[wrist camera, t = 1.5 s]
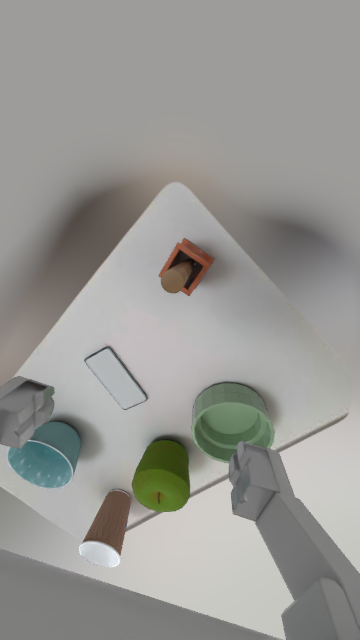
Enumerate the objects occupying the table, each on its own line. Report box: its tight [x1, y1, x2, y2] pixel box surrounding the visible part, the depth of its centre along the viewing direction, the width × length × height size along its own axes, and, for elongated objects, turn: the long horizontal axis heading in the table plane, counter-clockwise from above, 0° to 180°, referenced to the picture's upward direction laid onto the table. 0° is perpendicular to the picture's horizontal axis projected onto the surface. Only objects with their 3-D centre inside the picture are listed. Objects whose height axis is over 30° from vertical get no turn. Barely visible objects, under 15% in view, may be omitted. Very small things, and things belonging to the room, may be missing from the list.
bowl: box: [7, 422, 81, 489], centre depth 49 cm, size 16×16×8 cm
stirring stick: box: [161, 259, 195, 293], centre depth 25 cm, size 2×2×18 cm
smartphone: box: [84, 347, 147, 410], centre depth 44 cm, size 7×1×15 cm
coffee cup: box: [79, 489, 131, 567], centre depth 53 cm, size 10×10×12 cm
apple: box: [132, 440, 190, 512], centre depth 45 cm, size 12×12×11 cm
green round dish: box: [191, 383, 275, 463], centre depth 41 cm, size 15×15×6 cm
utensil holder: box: [159, 238, 214, 296], centre depth 30 cm, size 6×6×10 cm
